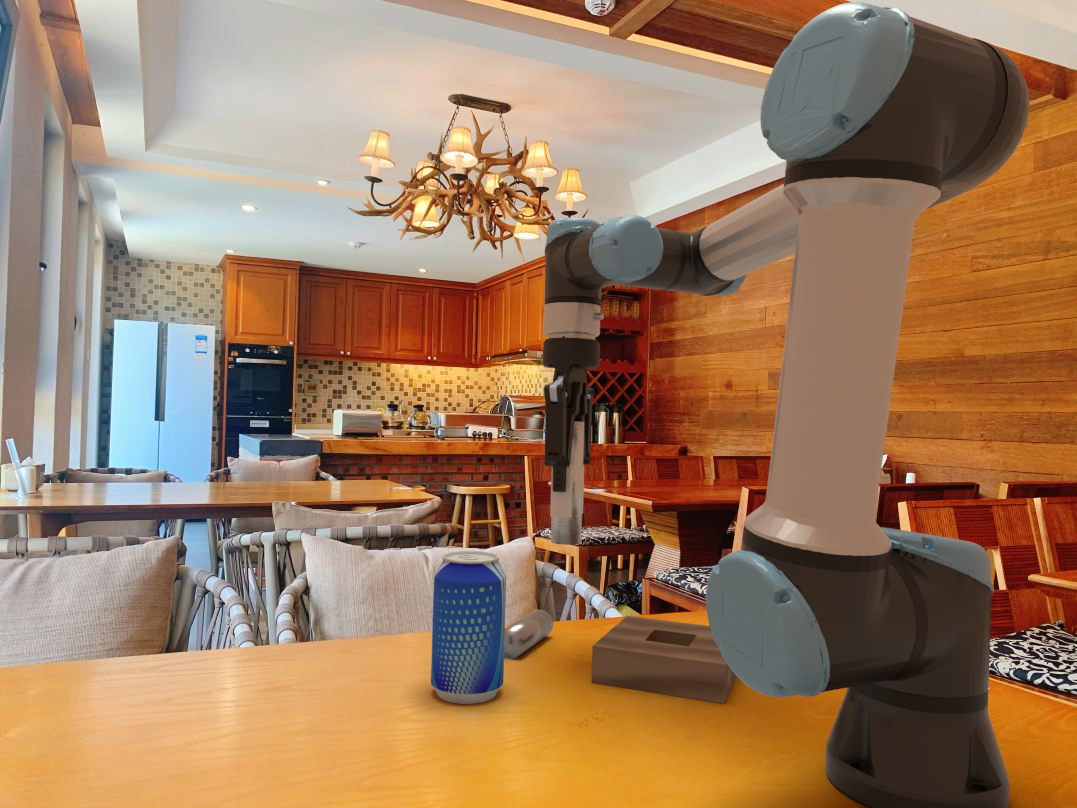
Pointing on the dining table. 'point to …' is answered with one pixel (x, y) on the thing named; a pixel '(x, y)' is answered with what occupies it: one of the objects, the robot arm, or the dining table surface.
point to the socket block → (662, 659)
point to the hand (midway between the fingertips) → (566, 514)
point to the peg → (570, 528)
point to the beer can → (468, 627)
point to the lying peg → (526, 633)
